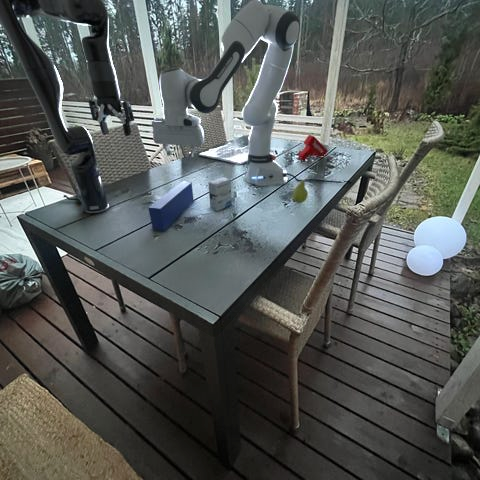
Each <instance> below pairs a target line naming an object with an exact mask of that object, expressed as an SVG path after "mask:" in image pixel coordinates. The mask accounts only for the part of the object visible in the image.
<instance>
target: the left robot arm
mask: <svg viewBox="0 0 480 480" xmlns="http://www.w3.org/2000/svg"><path fill="white" fill-rule="evenodd" d="M38 16H40V17H41V16H45V17H47V18H49V19H54V20H56V21H62V22H69V23H73V24H75V25H76V24H77V25H82V26H90V34H89V35H85V36H83V37H82V38H81V46H82V51H83V55H84V58H85V61H86V66H87V67H86V68H87V73H88V76H89V80H90V85H91V88H92V92H93V95H94V97H95V98H96V99H90V100H88V106H89V110H90V114H91V119H92V120H93V121H95V122H97V123H98V124H99V127H100V131H101V133H102V135H104V136H105V135H109V134H110V131H109V128H108V124H107V123H108V122H107V121H106V120H107V118H108V117H109V116H111V117H116V118H117V119H119V120H120V121H121V123H122V129H123V133H124V136H125V137H129V136H131V134H132V129H131V125H130V124H131V122H134V121H135V116H134V113H133V108H132V104H131V101H130V100H124V101H122V100H121V98H120V97H121V92H120V88H119V83H118V78H117V74H116V69H115V67H114V64H113V60H112V55H111V51H110V46H109V45H110V44H109V39H110V37H109V36H110V34H109V29H110V28H109V26H110V25H109V24H110V23H109V21H110V20H109V12H108V9H107V7H106V4H105V2H104V1H103V0H0V25H1V27H2V29H3V30H4V32H5V34H6V35H7V37H8V39H9V41H10V43H11V45H12V47H13V49H14V51H15V54H16V55H17V58H18V60H19V62H20V65H21V67H22V69H23V71H24V74H25V76H26V78H27V81H28V82H29V84H30V86H31V88H32V90H33V92H34V94H35V95H36V98H37V100H38V102H39V104H40V106H41V108H42V111H43V114H44V116H45V118H46V121H47V124H48V126H49V129H50V131H51V134H52V137H53V139H54V142H55V144H56V145H57V147H58V149H59V150H60V151H61V153H62V154H64V155H65V156H74V155H77V157H76V159H75V160H74V161H73V162H71V163H70V164H69V168H70V171H71V173H72V176H73V180H74V182H75V185H76V188H77V189H76V191H77V194H78V197H79V198H78V197H69V196H68V195H67V194H64V195H63V198H66V199H67V200H69V201H78V202H79V203H80V204H81V206H82V208H83V210H84V211H85V213H86V214H90V215H96V214H101V213H104V212H106V211H108V210H109V209H110V205H109V203H108V199H107V195H106V192H105V189H104V185H103V181H102V179H101V175H100V171H99V169H98V164H97V163H98V160H97V155H96V152H95V147H94V143H93V139H92V136H91V134H90V133H89V131H88V130H87V128H85V127H84V126H82V125H74V126H69V127H66V125H65V122H64V119H63V116H62V100H63V93H64V86H63V82H62V80H61V77H60V74H59V71H58V70H57V68H56V66H55V63H54V62H53V61H52V59H51V58H50V56H48V54H47V53H46V51H44V50H43V49H42V48H41V47H40V46H39V45H38V44H37V43H36V42H35V41H34V40H33V38H31V36H29V34H28V33H27V31H26V30H25V28H24V27H23V26H22V23H21V21H20V20H19V18H24V19H25V18H35V17H38Z"/></svg>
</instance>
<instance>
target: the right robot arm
mask: <svg viewBox="0 0 480 480" xmlns="http://www.w3.org/2000/svg"><path fill="white" fill-rule="evenodd" d="M300 32H301V20H300V18H299V16H298V15H297V14H295V12H293V11H290V10H287V9H286V8H283V7H281V6H279V5H274V4H268V3H267V2H262V1H260V0H250V1H248V3H246V4H245V5H244V6H243V7H242V8H241V9H240V10H239V11H238V12H237V14H236V15H235V16H234V17H233V19H231V21H230V22H229V23H228V24H227V26H226V28H225V30H224V32H223V34H222V36H221V41H220V43H221V44H220V45H221V48H222V55H221V57H220V58H219V60H218V61H217V63H216V65H215V66H214V67H213V69H212V70H211V71H210V73H209V74H208V75H207V76H206V77H204V78H201V79H200V78H198V77H195V76H192V75H191V74H189V73H187V72H186V71H184V70H183V69H182V68H181V67H171V68H168V69H164V70H163V71H161V73H160V74H159V88H160V98H161V100H162V104H163V105H162V106H163V107H162V113H163V114H162V115H163V118H161V117H160V118H159V117H154V118H153V120H151V127H152V140H153V142H154V143H155V144H156V145H162V147H163V149H164V150H165V152H166V156H168V157H171V156H172V155H173V150H170V148H169V145H171V146H181V147H182V146H183V147H185V146H186V147H190V150H191V151H189V152H188V158H194V157H195V151H196V149H197V147H198V148H201V147H202V146H203V145H204V144H205V134H204V129H203V127H202V126H201V122H202V121H201V118H200V117H198V116H196V115H193V114H191V113H189V112H188V109H189V107H190V108H194V109H195V110H196V111H197V112H199V113H201V114H210V113H212V112H214V111H215V110H216V109H217V108H218V106H219V104H220V102H221V97H222V95H223V93H224V92H223V91H224V90H225V88H226V87H227V85H228V84H229V83H230V81H231V79H232V78H233V77H234V75H235V74H236V72H237V70H238V69H239V68H240V66H241V65H242V63H243V62H244V60H245V59H246V58H247V56H248V55H249V54H250V53H251V52H252V51H253V49H254V48H255V47H256V46H257V44H258V42H259V41H260V40H262V41H264V42H266V43H267V49H266V51H265V54H264V58H263V60H262V64H261V68H260V71H259V73H258V77H257V80H256V82H255V85H254V87H253V89H252V91H251V93H250V95H249V98H248V100H247V102H246V103H245V105H244V106H243V108H242V111H241V117H242V120H243V122H244V123H245V124H246V125H248V126H250V127H251V129H250V132H249V135H248V145H249V152H248V155H247V162H246V163H247V171H246V175H245V177H244V179H245V180H244V181H245V182H246V183H249V184H252V185H255V186H257V187H267V186H279V185H286V184H288V182H289V181H288V180H289V179H288V177H287V176H291V177H292V178H293V179H294V180H295V181H297V182H301V181H302V180H303V179H298V178H297V177H296V176H295V175H293V174H291V173H288V172H287V170H284V169H283V167H282V166H281V165H280V164H279V163H277V162H276V161H275V160H276V158H277V157H276V156H275V154H273V152H271V146H272V135H273V129H274V125H275V120H276V116H277V114H278V110H279V109H278V104H277V102H276V101H275V100H276V98H277V96H278V95H279V93H280V92H281V90H282V88H283V84H284V81H285V78H286V76H287V73H288V70H289V67H290V63H291V60H292V56H293V52H294V47H295V45H294V44H295V43H296V42H297V40H298V38H299V35H300ZM305 179H306V178H305ZM305 179H304V180H305ZM309 181H310V182H311V181H313V182H322V183H332V184H333V183H335V184H341V183H349V184H351V183H352V182H351V181H350V180H348V181H344V180H343V181H344V182H341V181H342V180H326V179H316V178H307V179H306V180H305V182H309Z"/></svg>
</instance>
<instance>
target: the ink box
mask: <svg viewBox="0 0 480 480" xmlns="http://www.w3.org/2000/svg"><path fill="white" fill-rule="evenodd" d="M207 184H208V194H209V195H208V196H209V207H210V209H212V210H213V211H216V212H218V211H221V210H223V209H225V208H227V207H230V206H232V181H231V179H229V178H227V177H220V178H217V179H214V180H211V181H210V180H209V181H208V183H207Z"/></svg>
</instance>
